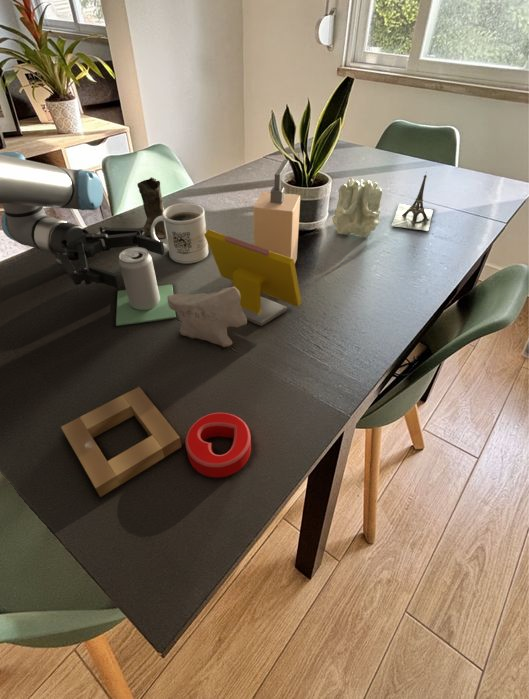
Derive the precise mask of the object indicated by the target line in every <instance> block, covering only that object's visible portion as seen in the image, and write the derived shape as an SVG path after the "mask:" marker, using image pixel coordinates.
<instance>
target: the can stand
mask: <svg viewBox="0 0 529 699" xmlns="http://www.w3.org/2000/svg"><path fill="white" fill-rule="evenodd" d="M133 417H134V418H135V419H136V420H137V422H138V423H139V424H140V426H141V427H142V428H143V430H144V431H145V432H146V434H147V435H148V437H146V438H145V439H143V440H141V441H139V442H138V443H136V444H135V445H133V446H131V447H129V448H128V449H126V450H124V451H123V452H120V453H119V454H117V455H116V456H114V457H112V458H110V459H108V460H107V458H106V457H105V456H104V454H103V452H102V451H101V449H100V447H99V446H98V444H97V442H96V441H95V439H94V438H96V437H97V436H100V435H102V434H103V433H105V432H107V431H109V430H110V429H112V428H114V427H116V426H118V425H119V424H121V423H123V422H126V420H129V419H130V418H133ZM60 429H61V430H62V432H63V434H64V436H65V437H66V439H67V441H68V443H69V444H70V446H71V448H72V450H73V452H74V453H75V455H76V457H77V459H78V461H79V462H80V464H81V466H82V468H83V470H84V471H85V473H86V475H87V477H88V478H89V480H90V482H91V483H92V486H93V488H94V489H95V491H96V492H97V494H98V496H99V497H100V498H102V497H103V496H105V495H107V494H108V493H110V492H111V491H113V490H114V489H116V488H118V487H120V486H121V485H122V484H125V483H126V482H127V481H129V480H131V479H132V478H134V477H136V476H137V475H139V474H141V473H142V472H144V471H146V470H147V469H149V468H150V467H152V466H153V465H155V464H157V463H158V462H160V461H162V460H164V459H165V458H167V457H168V456H170V455H171V454H172V453H174V452H176V451H177V450H179V449H181V448H182V447H183V445H182V442H181V441H182V440H181V437H180V436H179V434H178V433H177V432H176V430H175V429H174V428H173V427H172V426H171V424H170V423H169V422H168V421H167V419H166V418H165V417H164V415H163V414H162V413H161V412H160V410H158V408H157V406H155V404H154V403H153V402H152V401H151V399H150V398H149V397H148V396H147V394H146V393H145V392H144V391H143V389H142V388H141V387H140V386H137V387H135V388H134V389H132V390H129V391H127V392H125V393H124V394H121V395H120V396H118V397H116V398H114V399H112V400H110V401H108V402H106V403H104V404H102V405H100V406H98V407H96V408H94V409H93V410H91V411H88V412H87V413H85V414H83V415H81V416H79V417H77V418H75V419H73V420H72V421H69V422H68V423H66V424H64V425H62V426H60Z"/></svg>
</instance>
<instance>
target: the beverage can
mask: <svg viewBox="0 0 529 699" xmlns="http://www.w3.org/2000/svg"><path fill="white" fill-rule="evenodd" d="M118 257H119V260H118V265H119V269H120V273H121V277H122V280H123V283H124V287H125V290H126V291H127V295H128V299H129V302H130V305H131V306H132V307H133V308H135V309H139V310H149V309H152V308H154V307H155V306H156V305H157V304H158V303H159V301H160V295H159V290H158V286H159V285H158V282H157V277H156V272H155V268H154V262H153V258H152V255H151V254H150V252H149V251H148V250H146V249H145V248H141V247H138V246H132V247H129V248H126V249H124V250H122V251H121V252H119V255H118Z"/></svg>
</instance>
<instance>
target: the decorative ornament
mask: <svg viewBox="0 0 529 699" xmlns="http://www.w3.org/2000/svg"><path fill="white" fill-rule="evenodd" d="M216 437H222V438H223V437H224V438H230V439H233V441H232V444H231V447H230V449H229V450H228V451H227V452H226V453H223V454H216V453H214V451H213V450H214V449H213V443H212V442H208V441H206V440H207V439H209V438H216ZM185 449H186V454H187V458H188V461H189V463H190V464H191V466H192V467H193V469H194V470H195V471H197V472H198V473H199V474H201V475H203V476H206V477H209V478H225V477H229V476H232V475H234V474H236V473H237V472H239V471H241V469H243V467H244V466H245V465H246V464H247V462H249V459H250V456H251V453H252V452H251V451H252V439H251V431H250V428H249V426H248V425H247V424H246V422H245V421H244V420H243V419H242V418H240V417H239V416H236V415H235V414H232V413H229V412H213V413H208V414H205V415H204V416H202V417H200V418H199V419H197V420H195V422H193V424H192V425H191V426H190V427H189V429H188V431H187V433H186V436H185Z"/></svg>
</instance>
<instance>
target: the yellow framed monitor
mask: <svg viewBox="0 0 529 699" xmlns="http://www.w3.org/2000/svg"><path fill="white" fill-rule="evenodd" d="M206 231H207V232H206V233H205V234H204V235H205V238H206V240H207V242H208V248H209V250H210V252H211V255H212V256H213V259H214V261H215V264H216V266H217V269H218V271H219V274H220V276H221V277H222V278H224V279H227V280H230V281H231V282H232V287H235V288H236V289H238V290H239V292H240V297H241V298H240V305H241V308H242V310H243V312H244V314H245V316H246V319H247V321H249V322H251V323H252V324H253V323H254V324H255V325H258V326H260V327H262V326H265V325H266V324H267V323H269V322H271V321H272V320H274V319H275V318H277V317H279V316H281V315H282V314H284V313H285V312H287V311H288V307H287V306H285V305H283V304H281V303H278V302H276V301H274V300H271V299H268V298H266V297H263V296H261V293H262V294H264V295H267V296H270V297H273V298H274V299H277V300H280V301H282V302H285V303H288V304H290V305H292V306H294V307H300V305H301V304H302V297H301V291H300V290H301V289H300V286H299V281H298V275H297V270H296V262H295V263H294V259H291V258H289V257H286V256H283V255H280V254H277V253H274V252H271V251H269V250H267V249H264V248H261V247H258V246H255V245H254V244H252V243H249V242H246V241H243V240H241V239H238V238H235V237H232V236H229V235H225V234H223V233H220V232H217V231H214V230H211V229H207V230H206Z"/></svg>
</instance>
